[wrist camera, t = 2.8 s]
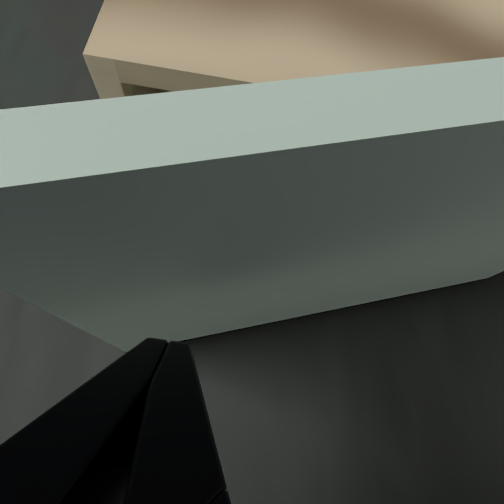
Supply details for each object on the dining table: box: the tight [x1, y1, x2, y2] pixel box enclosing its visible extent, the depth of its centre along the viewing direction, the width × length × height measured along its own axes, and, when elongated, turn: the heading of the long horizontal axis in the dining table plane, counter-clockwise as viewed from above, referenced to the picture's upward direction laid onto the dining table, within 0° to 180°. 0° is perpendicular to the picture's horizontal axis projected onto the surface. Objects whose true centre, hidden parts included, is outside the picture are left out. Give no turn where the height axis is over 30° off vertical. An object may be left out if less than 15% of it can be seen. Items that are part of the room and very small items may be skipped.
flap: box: [0, 57, 504, 352], centre depth 11 cm, size 1×16×12 cm, turn 103°
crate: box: [83, 0, 504, 99], centre depth 15 cm, size 6×16×8 cm, turn 82°
